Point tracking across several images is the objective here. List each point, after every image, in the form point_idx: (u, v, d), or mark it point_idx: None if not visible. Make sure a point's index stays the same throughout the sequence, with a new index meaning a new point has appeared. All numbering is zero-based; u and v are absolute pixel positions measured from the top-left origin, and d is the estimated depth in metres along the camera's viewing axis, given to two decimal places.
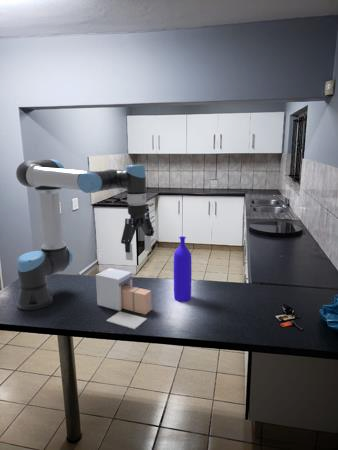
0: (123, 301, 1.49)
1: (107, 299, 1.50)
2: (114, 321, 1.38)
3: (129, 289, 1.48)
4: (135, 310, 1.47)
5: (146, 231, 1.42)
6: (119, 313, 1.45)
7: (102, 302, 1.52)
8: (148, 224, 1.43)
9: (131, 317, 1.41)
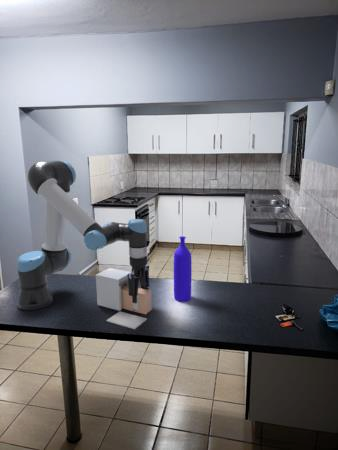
0: (123, 301, 1.49)
1: (107, 299, 1.50)
2: (114, 321, 1.38)
3: None
4: (135, 310, 1.47)
5: (143, 284, 1.48)
6: (119, 313, 1.45)
7: (102, 302, 1.52)
8: (146, 276, 1.50)
9: (131, 317, 1.41)
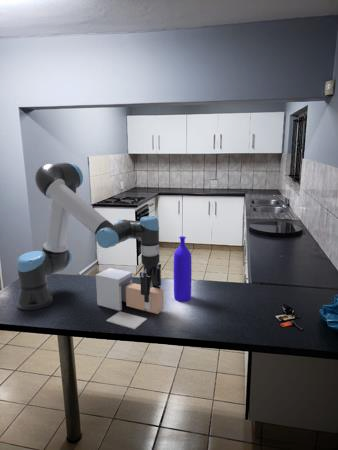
0: (134, 301, 1.46)
1: (107, 299, 1.50)
2: (114, 321, 1.38)
3: None
4: (147, 309, 1.44)
5: (154, 282, 1.45)
6: (119, 313, 1.45)
7: (102, 302, 1.52)
8: (157, 275, 1.47)
9: (131, 317, 1.41)
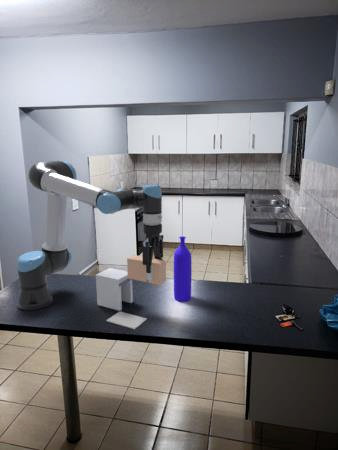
0: (135, 272, 1.43)
1: (107, 299, 1.50)
2: (114, 321, 1.38)
3: None
4: (149, 281, 1.40)
5: (157, 254, 1.42)
6: (119, 313, 1.45)
7: (102, 302, 1.52)
8: (160, 246, 1.43)
9: (131, 317, 1.41)
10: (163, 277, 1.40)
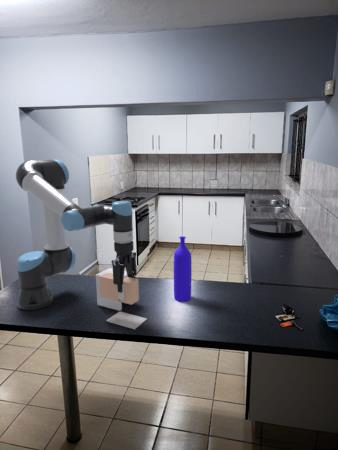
0: (108, 291, 1.38)
1: (107, 299, 1.50)
2: (114, 321, 1.38)
3: None
4: (121, 300, 1.36)
5: (129, 272, 1.37)
6: (119, 313, 1.45)
7: (102, 302, 1.52)
8: (133, 264, 1.39)
9: (131, 317, 1.41)
10: (136, 296, 1.35)
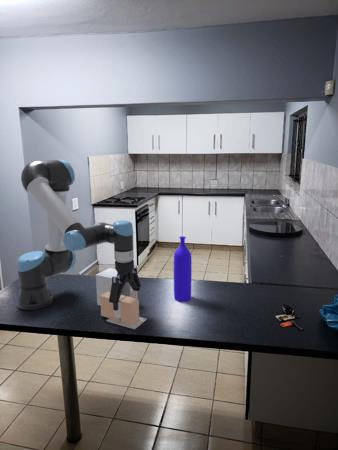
0: (108, 310, 1.40)
1: None
2: (114, 321, 1.38)
3: None
4: (121, 320, 1.38)
5: (133, 286, 1.41)
6: None
7: None
8: (135, 278, 1.42)
9: None
10: (136, 316, 1.37)
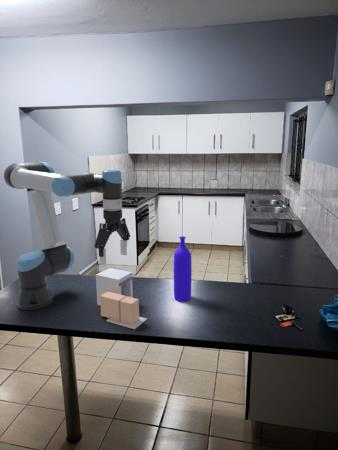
0: (108, 310, 1.40)
1: None
2: (114, 321, 1.38)
3: (116, 298, 1.39)
4: (121, 320, 1.38)
5: (122, 235, 1.43)
6: None
7: None
8: (124, 228, 1.44)
9: None
10: (136, 316, 1.37)
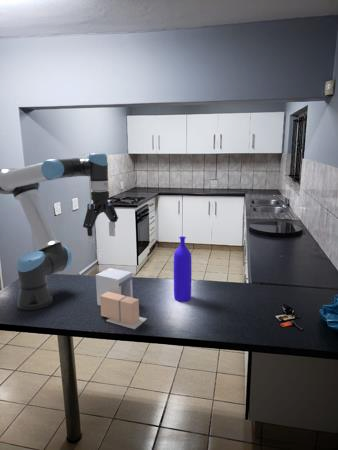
0: (108, 310, 1.40)
1: None
2: (114, 321, 1.38)
3: (116, 298, 1.39)
4: (121, 320, 1.38)
5: (110, 217, 1.50)
6: None
7: None
8: (112, 210, 1.51)
9: None
10: (136, 316, 1.37)
